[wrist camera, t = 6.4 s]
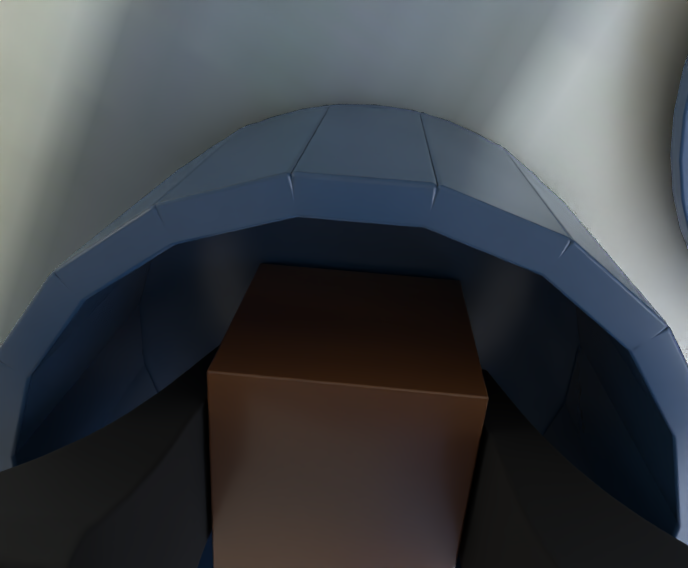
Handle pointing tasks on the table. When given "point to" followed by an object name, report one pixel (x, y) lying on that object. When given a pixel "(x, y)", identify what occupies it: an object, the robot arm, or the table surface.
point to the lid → (681, 154)
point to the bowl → (371, 257)
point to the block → (343, 422)
